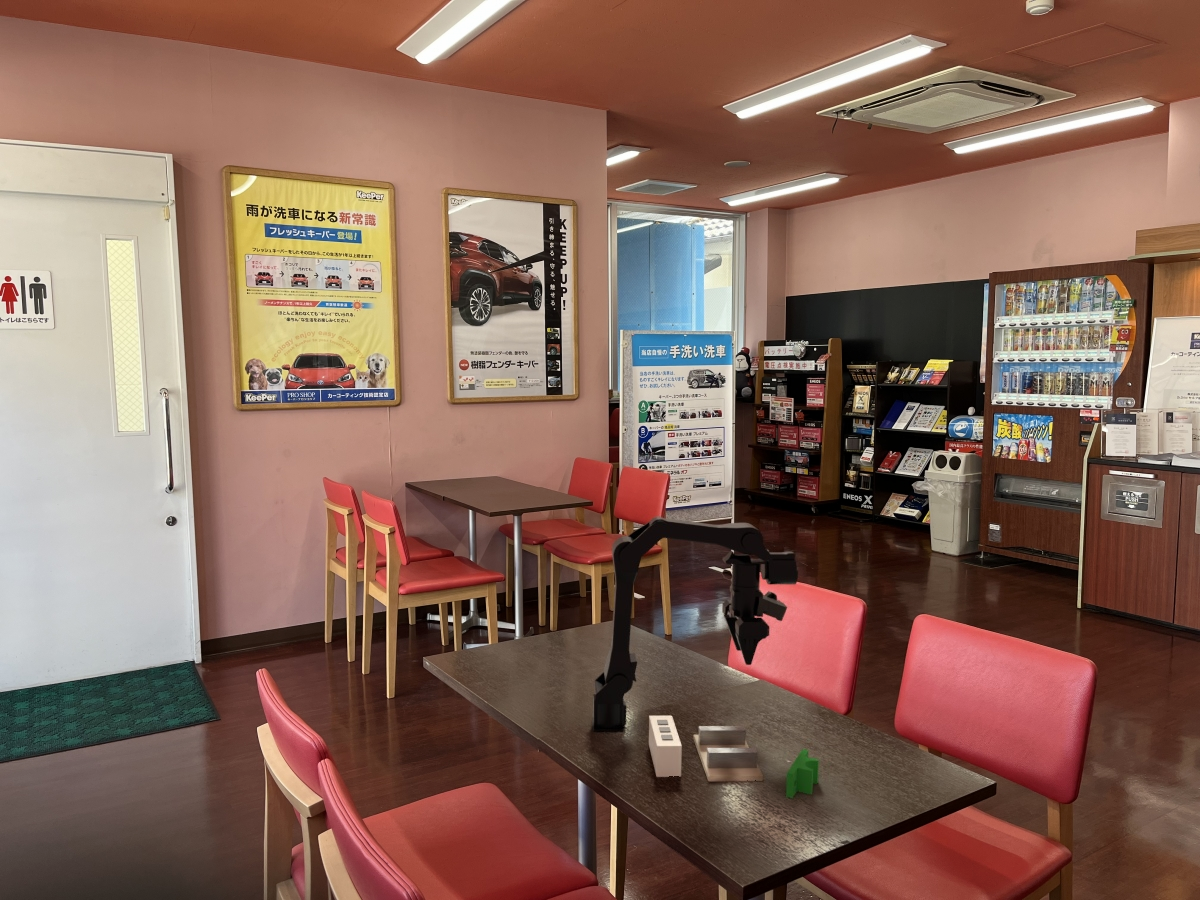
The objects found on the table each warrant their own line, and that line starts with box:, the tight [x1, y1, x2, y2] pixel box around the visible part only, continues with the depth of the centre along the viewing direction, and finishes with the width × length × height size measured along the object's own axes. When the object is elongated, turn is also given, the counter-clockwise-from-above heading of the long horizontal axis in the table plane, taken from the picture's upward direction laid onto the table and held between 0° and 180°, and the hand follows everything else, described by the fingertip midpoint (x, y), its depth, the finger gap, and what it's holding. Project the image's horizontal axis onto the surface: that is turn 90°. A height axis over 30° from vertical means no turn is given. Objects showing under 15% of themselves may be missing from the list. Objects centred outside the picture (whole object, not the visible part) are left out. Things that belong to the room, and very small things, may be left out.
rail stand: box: [693, 725, 764, 782], centre depth 161 cm, size 10×18×4 cm, turn 2°
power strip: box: [648, 715, 683, 778], centre depth 161 cm, size 4×14×6 cm, turn 3°
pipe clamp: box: [785, 748, 820, 799], centre depth 151 cm, size 11×4×5 cm, turn 153°
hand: (743, 657), depth 176 cm, fingers open, 9 cm apart
